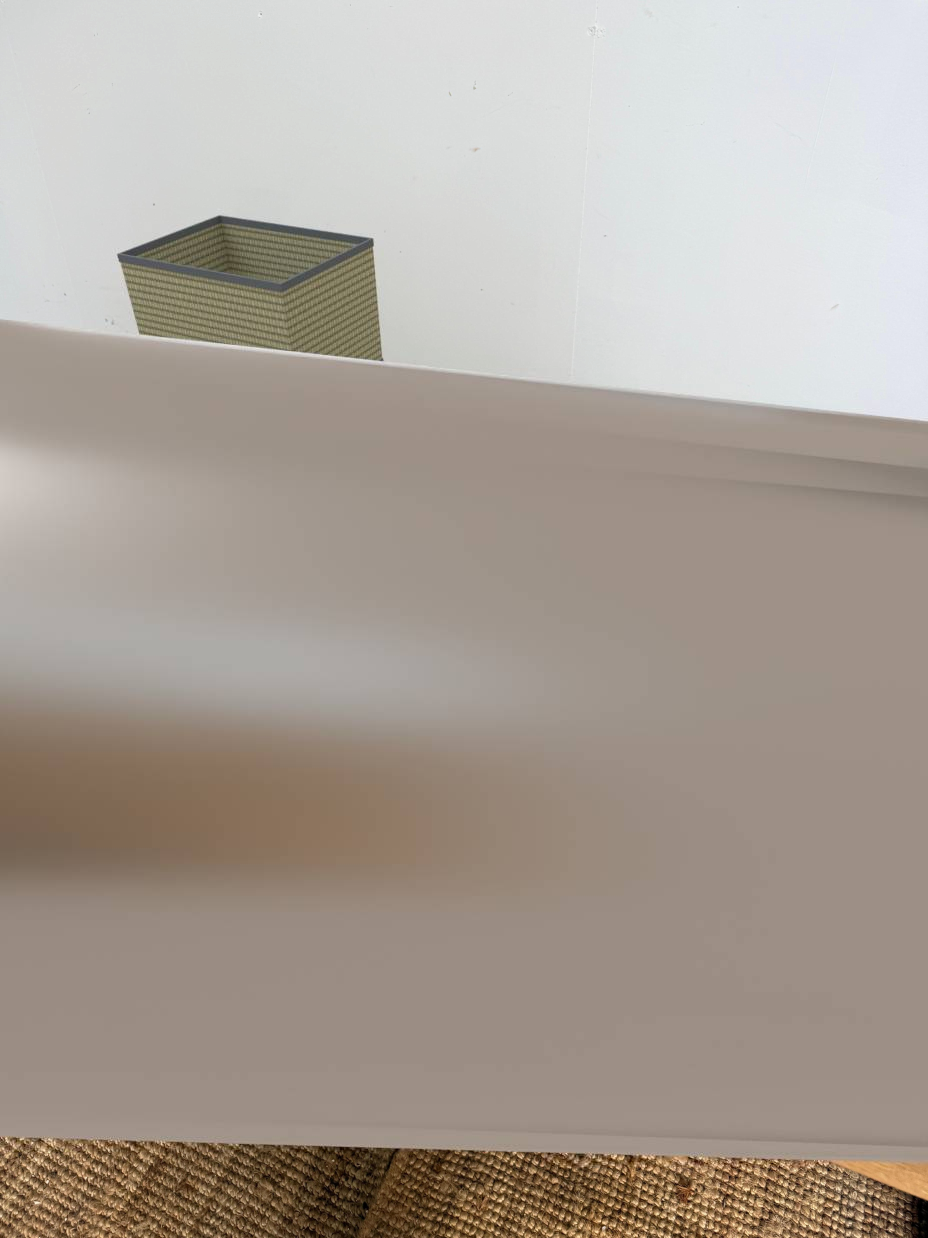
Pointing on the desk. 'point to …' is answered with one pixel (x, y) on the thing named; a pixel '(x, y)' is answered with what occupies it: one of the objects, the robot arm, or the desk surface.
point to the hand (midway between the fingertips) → (692, 723)
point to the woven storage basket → (258, 287)
